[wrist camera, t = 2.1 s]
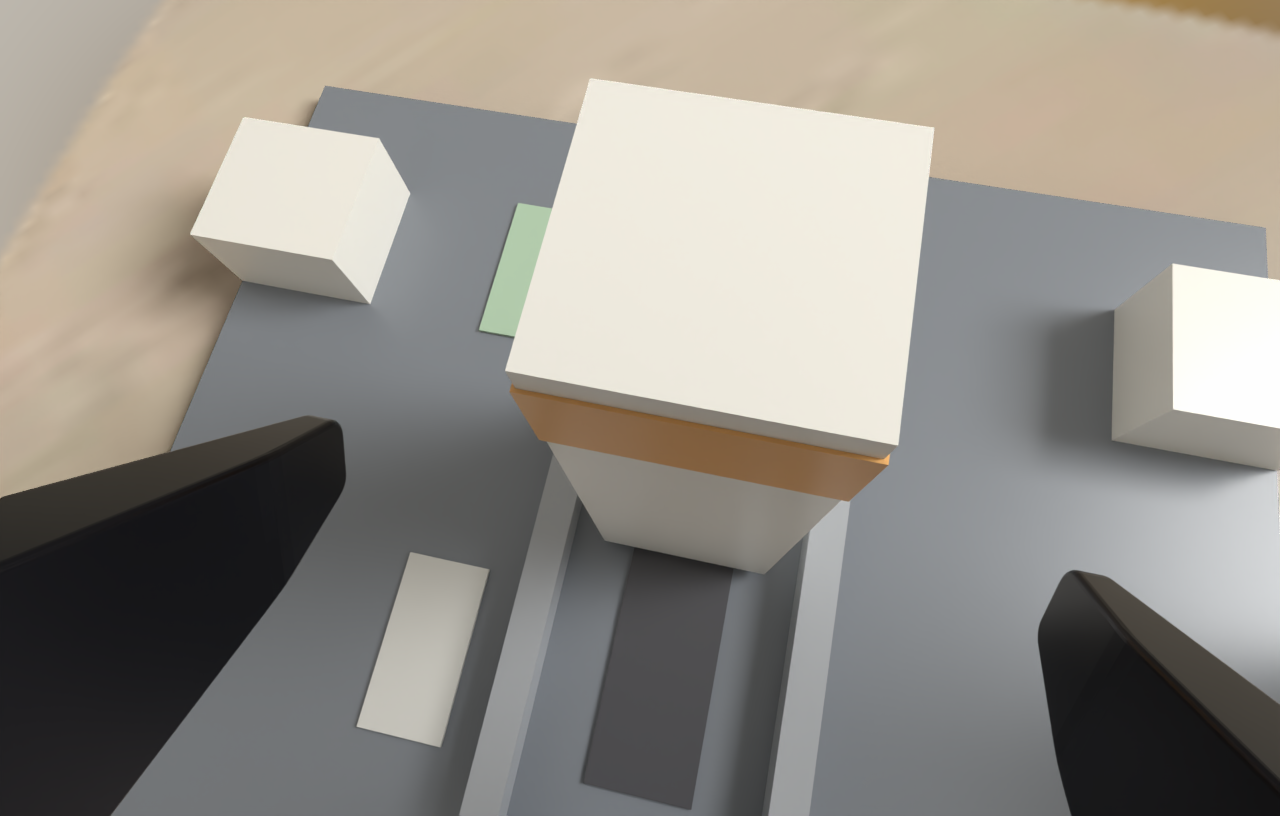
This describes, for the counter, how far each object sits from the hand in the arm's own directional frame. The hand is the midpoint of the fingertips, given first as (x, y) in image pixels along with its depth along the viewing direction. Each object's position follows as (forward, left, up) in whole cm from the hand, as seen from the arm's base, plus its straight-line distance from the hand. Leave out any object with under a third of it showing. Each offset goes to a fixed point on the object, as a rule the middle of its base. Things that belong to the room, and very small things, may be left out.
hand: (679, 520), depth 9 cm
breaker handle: (+2, 0, -9) cm, 9 cm away
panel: (+2, 0, -10) cm, 10 cm away
